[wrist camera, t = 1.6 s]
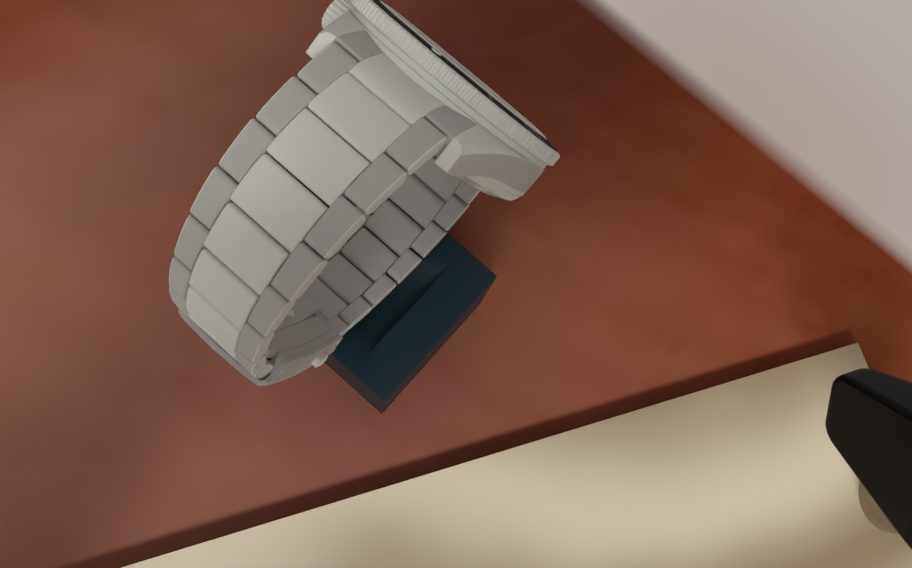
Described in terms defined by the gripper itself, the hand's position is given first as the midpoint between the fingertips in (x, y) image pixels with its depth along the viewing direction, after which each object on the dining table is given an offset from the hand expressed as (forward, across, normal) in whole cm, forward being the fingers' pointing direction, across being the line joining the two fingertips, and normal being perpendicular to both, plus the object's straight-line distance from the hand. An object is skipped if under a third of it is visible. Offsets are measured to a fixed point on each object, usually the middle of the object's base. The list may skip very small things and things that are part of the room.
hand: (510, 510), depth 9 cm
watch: (+13, 0, +4) cm, 14 cm away
